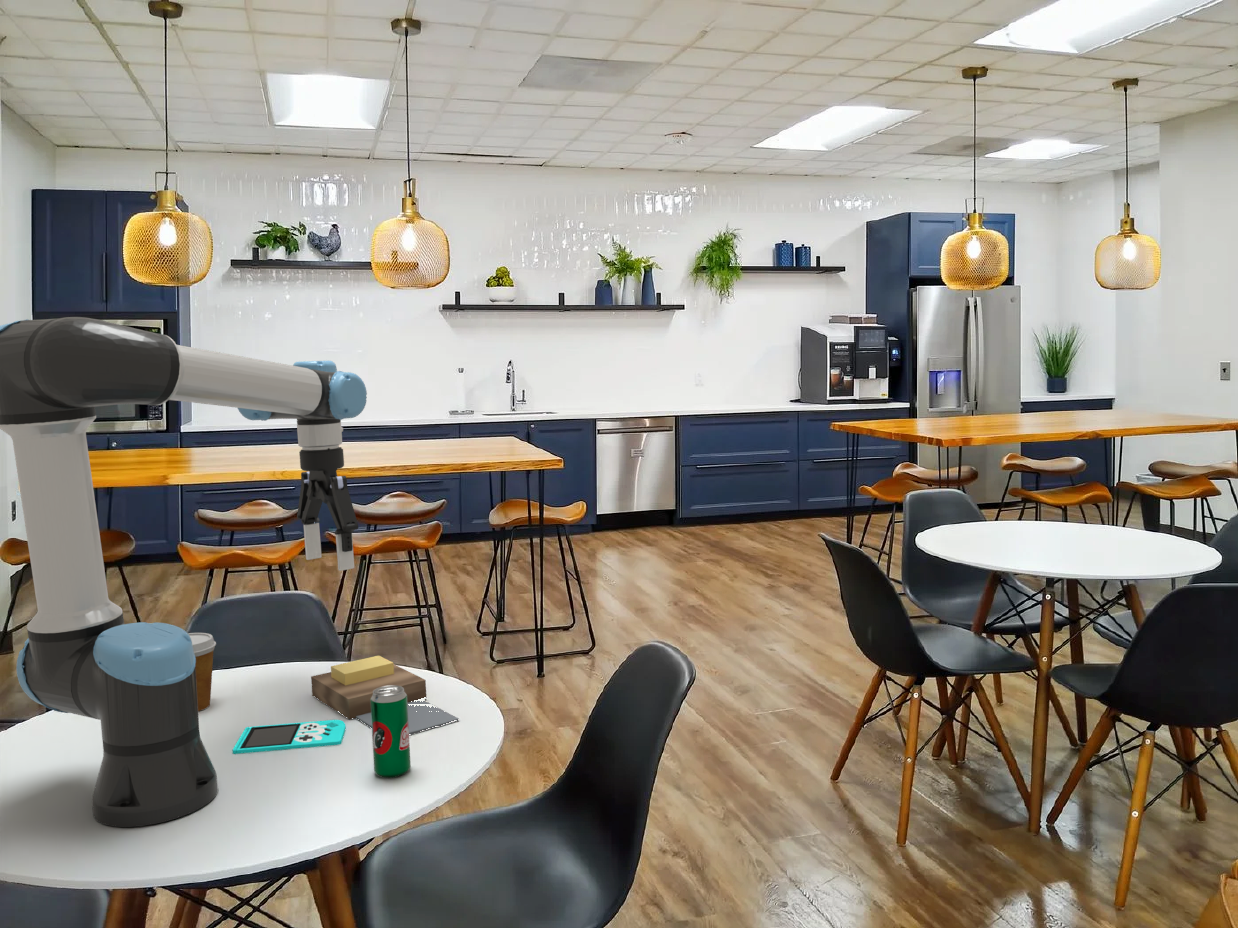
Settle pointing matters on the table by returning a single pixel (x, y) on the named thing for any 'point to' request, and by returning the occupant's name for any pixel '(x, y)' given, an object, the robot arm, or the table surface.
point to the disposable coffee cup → (203, 666)
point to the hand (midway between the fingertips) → (329, 563)
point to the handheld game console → (290, 736)
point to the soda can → (390, 731)
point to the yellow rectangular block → (362, 670)
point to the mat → (419, 717)
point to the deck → (364, 691)
